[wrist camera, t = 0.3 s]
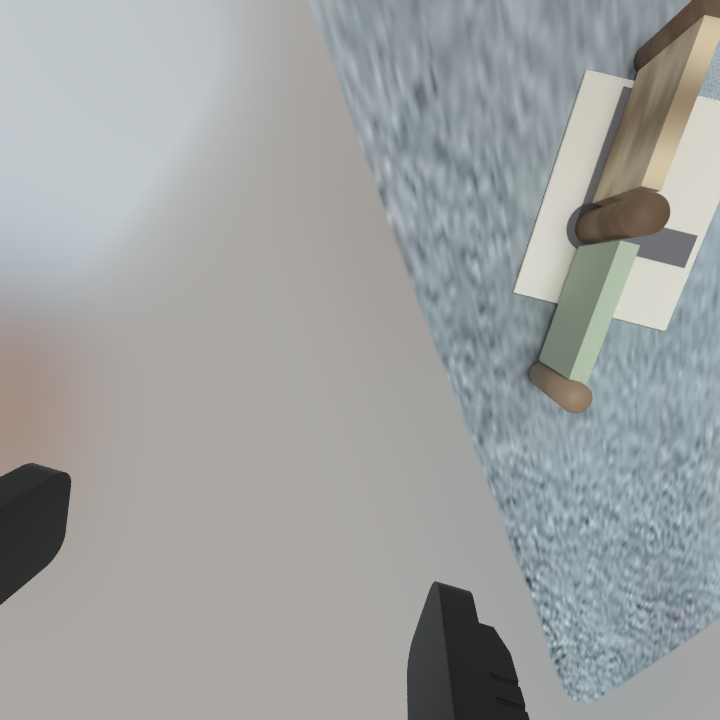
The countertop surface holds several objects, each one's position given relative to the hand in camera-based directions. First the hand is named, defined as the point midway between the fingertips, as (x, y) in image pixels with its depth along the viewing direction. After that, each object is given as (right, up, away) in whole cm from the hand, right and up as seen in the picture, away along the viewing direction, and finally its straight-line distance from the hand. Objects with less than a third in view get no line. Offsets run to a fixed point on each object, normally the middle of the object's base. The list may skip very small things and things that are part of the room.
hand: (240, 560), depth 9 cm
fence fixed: (+21, +20, +22) cm, 36 cm away
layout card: (+22, +16, +23) cm, 36 cm away
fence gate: (+18, +7, +24) cm, 31 cm away
